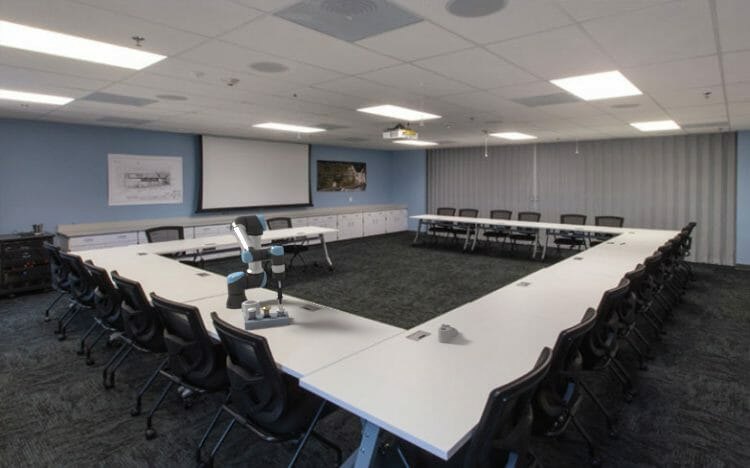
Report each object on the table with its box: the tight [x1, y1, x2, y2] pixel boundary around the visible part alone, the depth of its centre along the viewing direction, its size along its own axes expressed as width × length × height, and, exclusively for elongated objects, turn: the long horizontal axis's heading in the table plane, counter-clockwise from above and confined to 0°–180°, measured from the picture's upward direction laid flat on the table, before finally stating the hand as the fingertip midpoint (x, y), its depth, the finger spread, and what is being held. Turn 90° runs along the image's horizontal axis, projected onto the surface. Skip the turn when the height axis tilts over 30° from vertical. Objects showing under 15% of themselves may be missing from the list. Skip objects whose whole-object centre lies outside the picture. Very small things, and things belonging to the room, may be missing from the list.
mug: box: [241, 299, 261, 319], centre depth 269 cm, size 14×11×10 cm
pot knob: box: [261, 305, 271, 318], centre depth 254 cm, size 5×5×6 cm
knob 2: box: [276, 307, 286, 317], centre depth 257 cm, size 5×5×6 cm
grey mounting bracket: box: [437, 323, 459, 344], centre depth 224 cm, size 6×18×8 cm, turn 148°
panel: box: [244, 311, 291, 331], centre depth 255 cm, size 14×26×4 cm, turn 106°
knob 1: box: [248, 308, 256, 320], centre depth 252 cm, size 5×5×6 cm
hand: (280, 308), depth 257 cm, fingers closed
